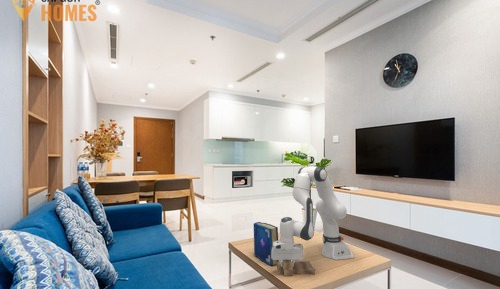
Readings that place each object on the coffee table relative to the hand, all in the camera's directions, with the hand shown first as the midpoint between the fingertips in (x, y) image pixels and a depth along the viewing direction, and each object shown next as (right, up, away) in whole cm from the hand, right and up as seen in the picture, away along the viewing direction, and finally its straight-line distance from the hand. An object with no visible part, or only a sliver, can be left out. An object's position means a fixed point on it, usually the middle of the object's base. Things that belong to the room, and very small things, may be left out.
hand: (287, 266), depth 147 cm
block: (0, -4, 0) cm, 4 cm away
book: (-13, -5, +19) cm, 23 cm away
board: (+6, -4, +4) cm, 8 cm away
